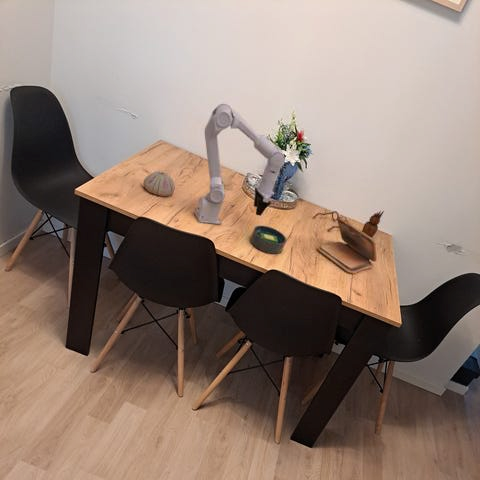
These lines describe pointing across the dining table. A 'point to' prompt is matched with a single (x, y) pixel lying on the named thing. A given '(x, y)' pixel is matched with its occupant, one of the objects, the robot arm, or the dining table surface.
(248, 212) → the dining table surface
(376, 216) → the wooden figurine
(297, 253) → the dining table surface
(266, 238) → the green box
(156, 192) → the sea urchin shell
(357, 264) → the case
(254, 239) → the bowl
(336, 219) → the glasses
